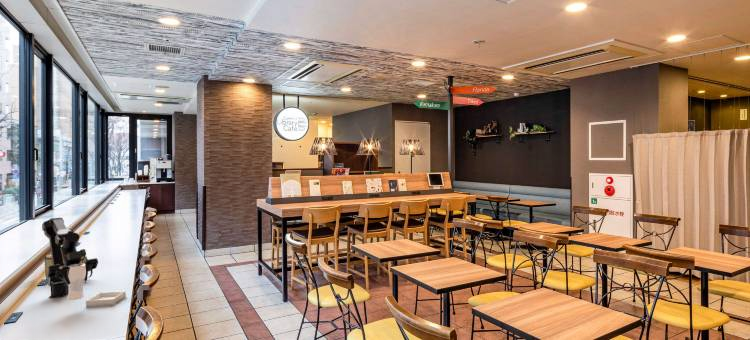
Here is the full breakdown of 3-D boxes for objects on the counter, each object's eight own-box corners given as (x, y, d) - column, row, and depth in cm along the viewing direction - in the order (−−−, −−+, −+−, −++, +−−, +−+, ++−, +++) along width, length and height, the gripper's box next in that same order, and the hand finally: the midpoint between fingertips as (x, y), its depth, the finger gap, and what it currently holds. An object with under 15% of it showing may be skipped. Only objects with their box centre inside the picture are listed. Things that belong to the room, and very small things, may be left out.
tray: (86, 307, 191) (85, 300, 191) (100, 298, 203) (99, 292, 203) (113, 305, 192) (113, 299, 192) (125, 296, 204) (125, 291, 204)
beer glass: (75, 300, 183) (77, 267, 183) (62, 299, 183) (63, 266, 184) (88, 296, 190) (90, 264, 190) (75, 295, 190) (76, 263, 191)
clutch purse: (96, 279, 237) (95, 253, 237) (86, 283, 230) (84, 256, 230) (53, 277, 243) (52, 252, 242) (42, 281, 236) (40, 255, 235)
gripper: (47, 248, 182) (54, 277, 175) (96, 241, 196) (104, 267, 189) (44, 262, 187) (50, 291, 180) (91, 254, 201) (99, 281, 194)
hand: (77, 282), depth 186 cm, fingers closed on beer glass, 6 cm apart
